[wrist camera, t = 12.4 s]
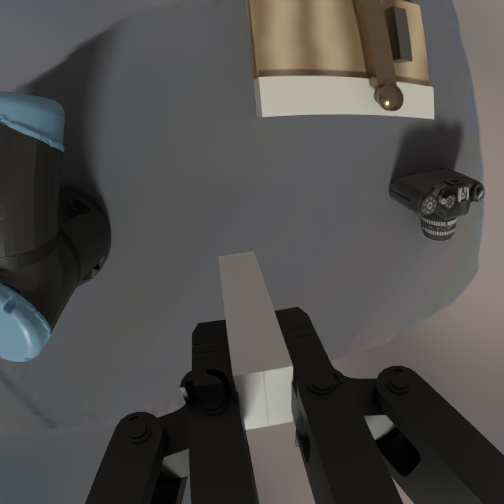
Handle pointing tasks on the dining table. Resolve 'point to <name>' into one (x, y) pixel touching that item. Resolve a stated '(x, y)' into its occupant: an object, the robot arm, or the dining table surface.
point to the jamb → (335, 97)
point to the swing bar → (378, 53)
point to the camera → (437, 199)
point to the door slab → (323, 40)
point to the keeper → (398, 34)
